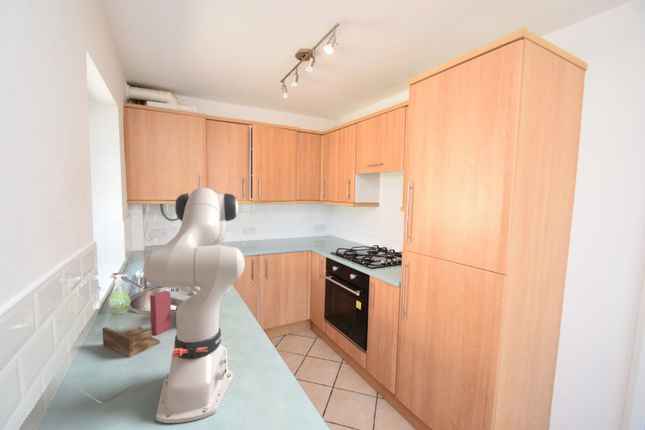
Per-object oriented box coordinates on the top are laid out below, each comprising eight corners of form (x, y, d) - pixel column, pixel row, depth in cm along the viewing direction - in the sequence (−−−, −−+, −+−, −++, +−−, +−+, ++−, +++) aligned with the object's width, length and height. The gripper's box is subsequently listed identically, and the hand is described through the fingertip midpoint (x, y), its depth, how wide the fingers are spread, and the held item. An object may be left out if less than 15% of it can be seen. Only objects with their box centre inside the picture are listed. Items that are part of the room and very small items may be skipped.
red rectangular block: (166, 327, 113) (165, 290, 112) (171, 328, 112) (170, 291, 111) (151, 333, 108) (150, 295, 107) (156, 335, 106) (155, 296, 105)
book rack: (133, 333, 108) (132, 317, 108) (159, 343, 101) (159, 326, 100) (103, 345, 99) (102, 328, 99) (130, 357, 92) (129, 339, 92)
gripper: (182, 286, 129) (152, 295, 117) (214, 293, 120) (186, 304, 108) (183, 299, 129) (153, 310, 117) (215, 307, 120) (186, 320, 108)
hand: (169, 307), depth 112 cm, fingers open, 8 cm apart
